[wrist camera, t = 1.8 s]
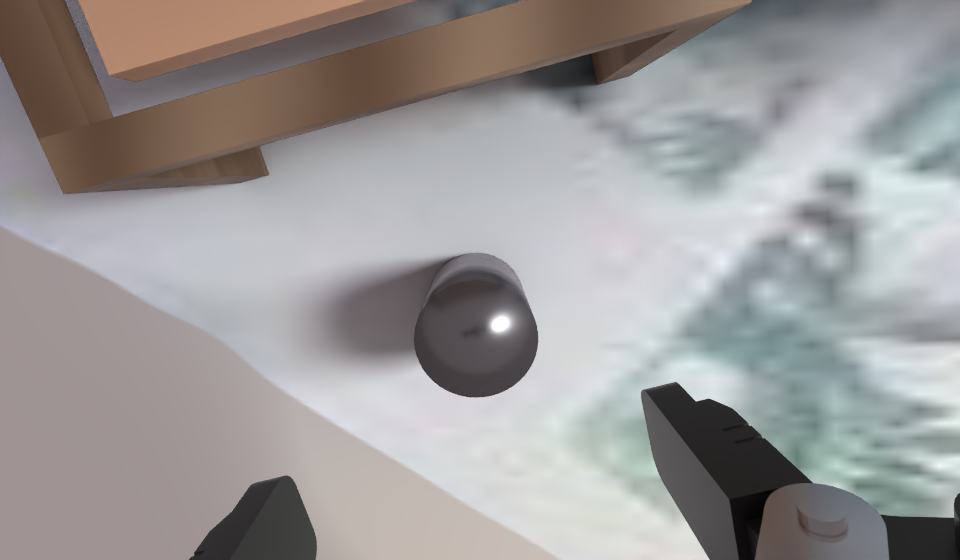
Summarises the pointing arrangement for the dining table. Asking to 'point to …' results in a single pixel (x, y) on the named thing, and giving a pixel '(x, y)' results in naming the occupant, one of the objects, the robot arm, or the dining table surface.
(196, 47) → the trapdoor
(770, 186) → the dining table surface
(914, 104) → the dining table surface
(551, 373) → the dining table surface
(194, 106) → the trapdoor frame
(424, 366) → the cylinder
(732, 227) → the dining table surface
